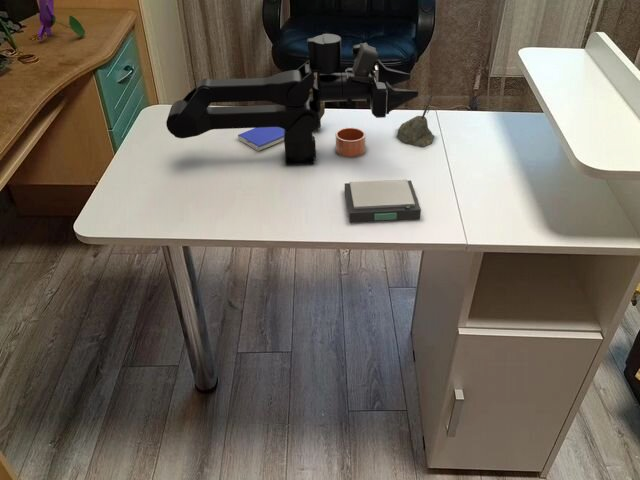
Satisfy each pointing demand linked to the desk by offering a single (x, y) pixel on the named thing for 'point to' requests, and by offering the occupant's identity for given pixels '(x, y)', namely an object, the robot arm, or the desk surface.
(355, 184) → the scale
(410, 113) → the desk surface
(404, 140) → the sword in stone
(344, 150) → the bowl
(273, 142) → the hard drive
